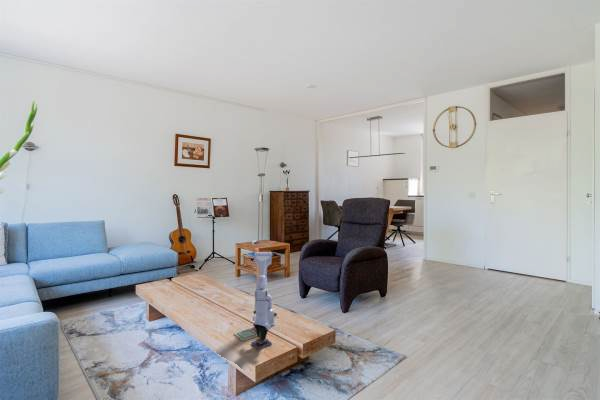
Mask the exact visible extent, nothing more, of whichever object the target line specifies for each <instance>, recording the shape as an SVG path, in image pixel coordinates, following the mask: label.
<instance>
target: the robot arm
mask: <svg viewBox="0 0 600 400" xmlns="http://www.w3.org/2000/svg"><path fill="white" fill-rule="evenodd" d="M272 255H273V253H272V252H271V251H255V252H254V254H253V263H254V264H255V265H256V266H258V276H257V278H256V283H255V284H256V285H255V286H256V287H255V291H254V311H255V310H256V313H255V315H254V316H252V321H253V325H252V326H253V327H254V329H255V332H256V333H257V339H259V330H260V334H261V340H265V339H266V338H267V335H268V331H269V330H271V329H272V327H273V326H275V316H274V313H275V312H274V310H273V306H272V305H273V302H272V301H273V299H272V298H273V297H272V296H271V294H269V290H268V267H269V266H270V265H272V259H273V258H272Z"/></svg>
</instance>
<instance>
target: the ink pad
mask: <svg viewBox="0 0 600 400" xmlns="http://www.w3.org/2000/svg"><path fill="white" fill-rule="evenodd" d="M250 343H251V346H252V347H254V348H256V349H257V350H261V349H264V348H266V347H269V346H272V345H273V344H272V342H271V341H270V340H268V341H267V342H266V343H264V344H261V345H260V344H258V343H256V340H254V341H252V342H250Z"/></svg>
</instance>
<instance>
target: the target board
mask: <svg viewBox="0 0 600 400" xmlns="http://www.w3.org/2000/svg"><path fill="white" fill-rule="evenodd" d="M233 335H234V336H236V337H237V338H238V339H239V340H240V341H242V342H245V341H248V340H251V339H254V338H258V336H257V332H256V331H254V330H253V329H252V328H247V329H244V330H241V331H237V332H235V333H233Z"/></svg>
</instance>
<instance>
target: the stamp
mask: <svg viewBox="0 0 600 400" xmlns="http://www.w3.org/2000/svg"><path fill="white" fill-rule="evenodd" d="M255 341H256V343H258V344H260V345H261V344H264V343H266V342H267V341H269V339H268V338H267V337H266V339H265V340H261V334H260V330H259V338H256V339H255Z"/></svg>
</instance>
